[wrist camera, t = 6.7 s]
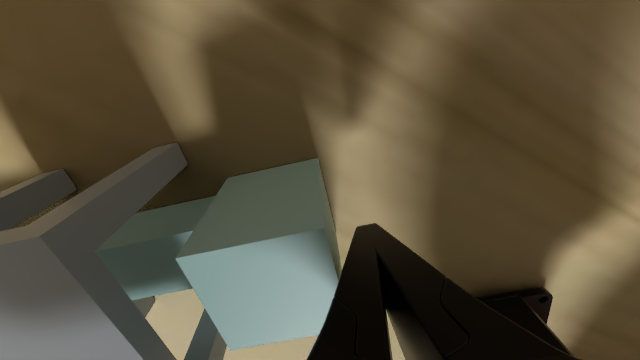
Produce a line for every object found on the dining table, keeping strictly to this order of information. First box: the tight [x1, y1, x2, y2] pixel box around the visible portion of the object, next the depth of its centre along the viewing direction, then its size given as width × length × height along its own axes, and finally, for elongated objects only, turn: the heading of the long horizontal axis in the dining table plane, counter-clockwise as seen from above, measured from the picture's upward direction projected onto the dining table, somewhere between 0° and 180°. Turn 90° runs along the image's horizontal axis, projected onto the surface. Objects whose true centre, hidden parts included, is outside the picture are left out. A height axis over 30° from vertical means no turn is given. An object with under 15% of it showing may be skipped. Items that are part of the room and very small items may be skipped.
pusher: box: [95, 158, 342, 351], centre depth 10 cm, size 4×16×5 cm, turn 102°
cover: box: [0, 142, 227, 360], centre depth 10 cm, size 8×6×6 cm
